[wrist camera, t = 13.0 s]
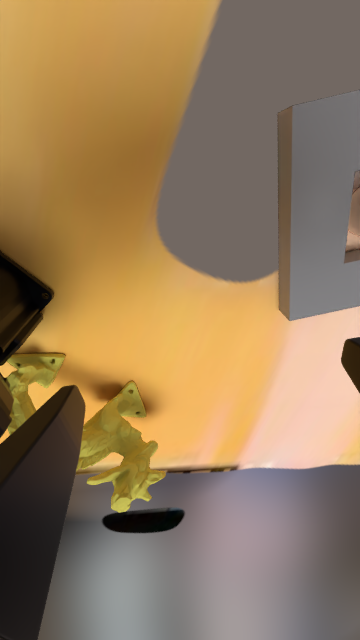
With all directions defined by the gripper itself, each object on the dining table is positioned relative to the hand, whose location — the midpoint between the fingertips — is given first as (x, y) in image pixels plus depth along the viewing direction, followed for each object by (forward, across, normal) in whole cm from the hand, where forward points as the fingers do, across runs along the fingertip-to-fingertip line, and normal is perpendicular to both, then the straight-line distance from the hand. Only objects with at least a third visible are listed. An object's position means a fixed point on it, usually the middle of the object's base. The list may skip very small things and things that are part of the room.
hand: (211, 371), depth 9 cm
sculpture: (+13, +11, +10) cm, 20 cm away
